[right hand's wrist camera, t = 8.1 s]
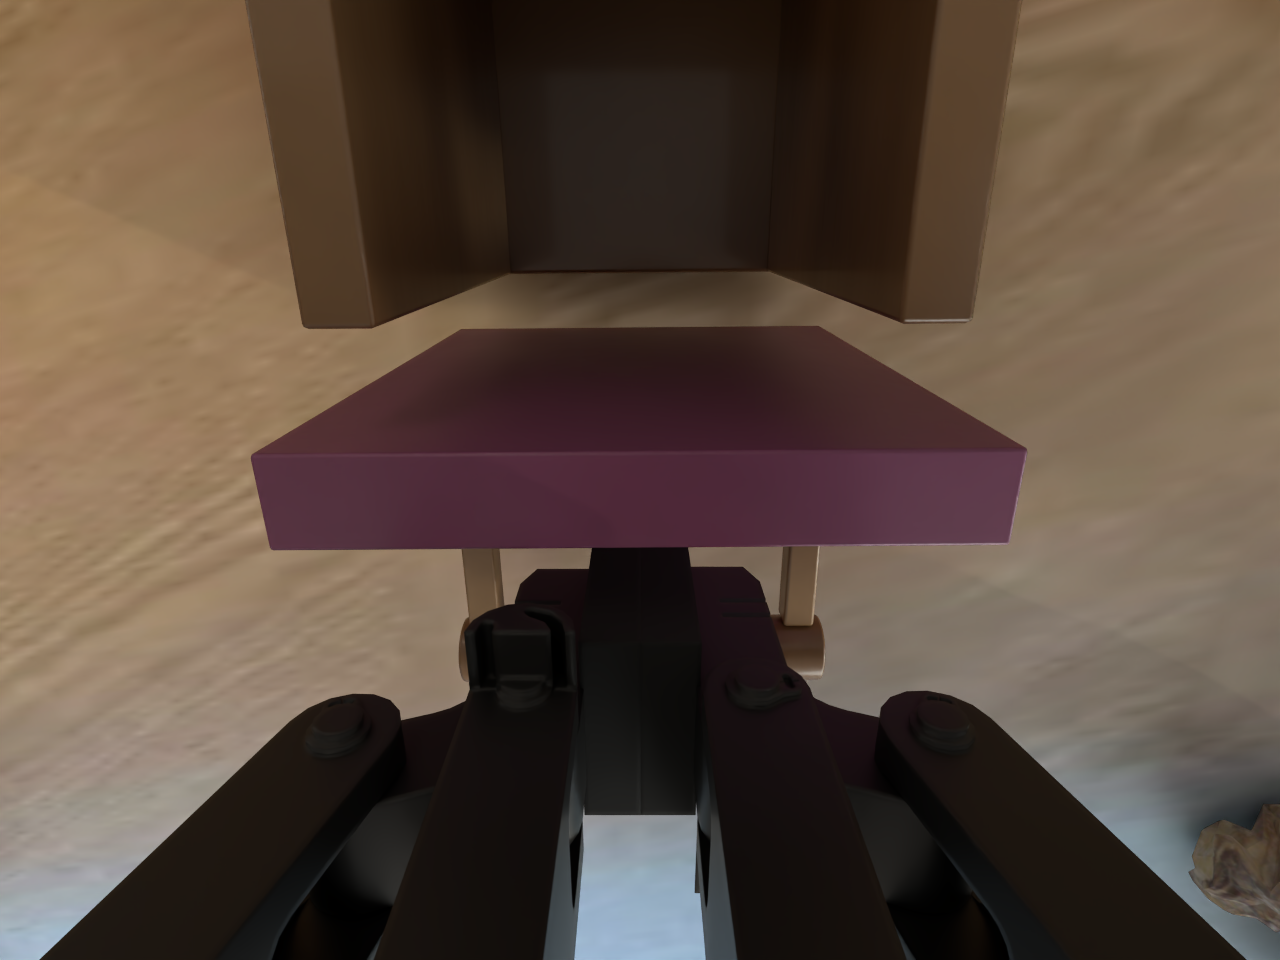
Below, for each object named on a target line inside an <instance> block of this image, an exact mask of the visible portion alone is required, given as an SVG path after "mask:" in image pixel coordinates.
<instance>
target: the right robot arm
mask: <svg viewBox="0 0 1280 960" xmlns="http://www.w3.org/2000/svg"><path fill="white" fill-rule="evenodd" d="M464 638H465V648H466V657H467V667H468V676H469V686H470V690H469V693H468V696H467V699H466V701H465V702H462V703H460V704H458V705H456V706H454V707H452V708H450V709H446V710H443V711H439V712H436V713H432V714H428V715H423V716H419V717H414V718H410V719H405V720H401V717H400V711H399V709H398V708H397V707H396V706H395V705H394V704H393V703H392V702H391V701H390V700H388V699H386V698H383V697H380V696H377V695H374V694H350V695H345V696H340V697H335V698H331V699H328V700H326V701H323V702H321V703H319V704H317V705H314V706H312V707H310V708H308V709H306V710H305V711H304V712H302V713H301V714H299V715H298V716H297V717H295V718H294V719H293V720H291V721H290V722H289V723H288V724H287V725H286V726H285V727H283V728H282V729H281V730H280V731H279V732H278V733H277V734H276V735H275V736H274V737H273V738H272V739H271V740H270V741H269V742H268V743H267V744H266V745H265V746H263V747H262V748H261V749H260V750H259V751H258V752H257V753H256V754H255V755H254V756H253V757H252V758H251V759H250V760H249V761H248V762H247V763H246V764H245V765H244V766H242V767H241V768H240V769H239V770H238V771H237V772H236V773H235V774H234V775H233V776H232V777H231V778H230V779H229V780H228V781H227V782H226V783H225V784H224V785H223V786H221V787H220V788H219V789H218V790H217V791H216V792H215V793H214V794H213V795H212V796H211V797H210V798H209V799H208V800H207V801H206V802H205V803H204V804H203V805H202V806H200V807H199V808H198V809H197V810H196V811H195V812H194V813H193V814H192V815H191V816H190V817H189V818H188V819H187V820H186V821H185V822H184V823H183V824H182V825H180V826H179V827H178V828H177V829H176V830H175V831H174V832H173V833H172V834H171V835H170V836H169V837H168V838H167V839H166V840H165V841H164V842H163V843H162V844H161V845H159V846H158V847H157V848H156V849H155V850H154V851H153V852H152V853H151V854H150V855H149V856H148V857H147V858H146V859H145V860H144V861H143V862H142V863H141V864H140V865H138V866H137V867H136V868H135V869H134V870H133V871H132V872H131V873H130V874H129V875H128V876H127V877H126V878H125V879H124V880H123V881H122V882H121V883H120V884H119V885H117V886H116V887H115V888H114V889H113V890H112V891H111V892H110V893H109V894H108V895H107V896H106V897H105V898H104V899H103V900H102V901H101V902H100V903H99V904H97V905H96V906H95V907H94V908H93V909H92V910H91V911H90V912H89V913H88V914H87V915H86V916H85V917H84V918H83V919H82V920H81V921H80V922H79V923H78V924H76V925H75V926H74V927H73V928H72V929H71V930H70V931H69V932H68V933H67V934H66V935H65V936H64V937H63V938H62V939H61V940H60V941H59V942H58V943H57V944H55V945H54V946H53V947H52V948H51V949H50V950H49V951H48V952H47V953H46V954H45V955H44V956H43V957H42V958H41V959H40V960H574V956H575V944H576V932H577V921H578V909H579V898H580V886H581V874H582V863H583V851H584V847H583V821H582V820H583V810H584V812H585V815H695V814H696V805H697V816H698V821H697V847H696V873H695V893H700V897H701V908H702V920H703V932H704V943H705V955H706V960H1246V959H1245V958H1244V957H1243V956H1242V955H1241V954H1240V953H1239V952H1238V951H1237V950H1236V949H1235V948H1234V947H1232V946H1231V945H1230V944H1229V943H1228V942H1227V941H1226V940H1225V939H1224V938H1223V937H1222V936H1221V935H1220V934H1219V933H1218V932H1217V931H1216V930H1214V929H1213V928H1212V927H1211V926H1210V925H1209V924H1208V923H1207V922H1206V921H1205V920H1204V919H1203V918H1202V917H1201V916H1200V915H1199V914H1198V913H1197V912H1195V911H1194V910H1193V909H1192V908H1191V907H1190V906H1189V905H1188V904H1187V903H1186V902H1185V901H1184V900H1183V899H1182V898H1181V897H1180V896H1179V895H1177V894H1176V893H1175V892H1174V891H1173V890H1172V889H1171V888H1170V887H1169V886H1168V885H1167V884H1166V883H1165V882H1164V881H1163V880H1162V879H1161V878H1159V877H1158V876H1157V875H1156V874H1155V873H1154V872H1153V871H1152V870H1151V869H1150V868H1149V867H1148V866H1147V865H1146V864H1145V863H1144V862H1143V861H1141V860H1140V859H1139V858H1138V857H1137V856H1136V855H1135V854H1134V853H1133V852H1132V851H1131V850H1130V849H1129V848H1128V847H1127V846H1126V845H1125V844H1123V843H1122V842H1121V841H1120V840H1119V839H1118V838H1117V837H1116V836H1115V835H1114V834H1113V833H1112V832H1111V831H1110V830H1109V829H1108V828H1107V827H1105V826H1104V825H1103V824H1102V823H1101V822H1100V821H1099V820H1098V819H1097V818H1096V817H1095V816H1094V815H1093V814H1092V813H1091V812H1090V811H1089V810H1087V809H1086V808H1085V807H1084V806H1083V805H1082V804H1081V803H1080V802H1079V801H1078V800H1077V799H1076V798H1075V797H1074V796H1073V795H1072V794H1071V793H1069V792H1068V791H1067V790H1066V789H1065V788H1064V787H1063V786H1062V785H1061V784H1060V783H1059V782H1058V781H1057V780H1056V779H1055V778H1054V777H1053V776H1051V775H1050V774H1049V773H1048V772H1047V771H1046V770H1045V769H1044V768H1043V767H1042V766H1041V765H1040V764H1039V763H1038V762H1037V761H1036V760H1035V759H1033V758H1032V757H1031V756H1030V755H1029V754H1028V753H1027V752H1026V751H1025V750H1024V749H1023V748H1022V747H1021V746H1020V745H1019V744H1018V743H1017V742H1015V741H1014V740H1013V739H1012V738H1011V737H1010V736H1009V735H1008V734H1007V733H1006V732H1005V731H1004V730H1003V729H1002V728H1001V727H1000V726H999V725H997V724H996V723H995V722H994V721H993V720H992V719H991V718H990V717H988V716H987V715H986V714H984V713H983V712H981V711H980V710H979V709H977V708H976V707H975V706H973V705H971V704H969V703H967V702H964V701H962V700H960V699H957V698H955V697H953V696H950V695H945V694H941V693H936V692H931V691H906V692H903V693H901V694H898V695H895V696H892V697H890V698H889V699H888V700H887V701H886V703H885V704H884V705H883V706H882V707H881V711H880V717H874V716H870V715H865V714H861V713H856V712H852V711H847V710H844V709H840V708H837V707H834V706H830V705H828V704H826V703H824V702H822V701H820V700H817V699H815V698H814V697H813V695H812V692H811V689H810V688H809V686H808V685H807V683H806V682H805V680H804V679H803V677H802V676H801V675H800V674H798V673H797V672H795V671H794V670H792V669H791V668H790V667H788V666H787V663H786V660H785V657H784V654H783V651H782V648H781V645H780V642H779V639H778V636H777V633H776V630H775V627H774V624H773V620H772V617H770V611H769V608H768V605H767V602H765V596H764V593H763V590H762V587H761V584H760V581H758V580H757V579H756V578H755V577H754V576H753V575H752V574H750V573H749V572H748V571H747V570H746V569H745V568H744V567H691V565H690V558H689V551H688V547H640V548H592V552H591V559H590V566H589V569H537V570H536V571H535V572H534V573H532V574H531V575H530V576H529V577H528V578H527V579H526V580H524V581H523V582H522V583H521V584H520V587H519V590H518V593H517V596H516V599H515V604H511V605H505V606H502V607H499V608H496V609H492V610H489V611H487V612H485V613H484V614H482V615H480V616H479V617H477V618H476V619H474V620H473V621H472V622H471V623H470V624H469V626H468V627H467V628H466V630H465V631H464Z"/></svg>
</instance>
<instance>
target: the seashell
mask: <svg viewBox="0 0 1280 960" xmlns="http://www.w3.org/2000/svg"><path fill="white" fill-rule="evenodd" d="M1192 858H1193V861H1194V865H1195V868H1194V869H1193V870H1191V871H1189V874H1190V876H1191V878H1192V880H1193V881H1194V883H1195V884H1196V885H1197V886H1198V887H1199V889H1200V890H1201V891H1202V892H1203V893H1204V894H1205V896H1206V897H1207V898H1208V899H1209V900H1211V901H1212V902H1214V903H1215V904H1216V905H1218V906H1219V907H1221V908H1222V909H1224V910H1225V911H1227V912H1229V913H1231V914H1234V915H1240V916H1246V917H1251V918H1256V919H1258V920H1259V921H1261V922H1262V923H1264V924H1265V925H1266V926H1268V927H1269V928H1271V929H1272V930H1274V931H1275V932H1279V931H1280V804H1263V806H1262V808H1261V810H1260V812H1259V815H1258V817H1257V819H1256V822H1255V824H1254V826H1253V828H1252V830H1249V829H1247V828H1244V827H1241V826H1239V825H1236V824H1234V823H1231V822H1229V821H1226V820H1221V821H1218V822H1216V823H1214V824H1212V825H1210V826H1208V827H1206V828H1204V829H1203V830H1202V831H1201V834H1200V836H1199V839H1198V842H1197V844H1196V847H1195V850H1194V852H1193V855H1192Z"/></svg>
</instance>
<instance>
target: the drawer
mask: <svg viewBox="0 0 1280 960" xmlns="http://www.w3.org/2000/svg"><path fill="white" fill-rule="evenodd" d="M245 2H246V8H247V13H248V19H249V25H250V30H251V36H252V42H253V48H254V53H255V59H256V65H257V70H258V76H259V82H260V87H261V93H262V99H263V104H264V110H265V116H266V121H267V127H268V133H269V138H270V144H271V150H272V155H273V161H274V167H275V172H276V178H277V184H278V189H279V195H280V201H281V206H282V212H283V218H284V223H285V229H286V235H287V240H288V246H289V252H290V257H291V263H292V269H293V274H294V280H295V286H296V291H297V297H298V303H299V309H300V314H301V320H302V324H303V326H304V327H305V328H308V329H356V328H374V327H376V326H379V325H381V324H384V323H386V322H389V321H392V320H394V319H397V318H399V317H402V316H404V315H407V314H409V313H412V312H414V311H417V310H419V309H422V308H424V307H427V306H429V305H432V304H434V303H437V302H439V301H442V300H445V299H447V298H450V297H452V296H455V295H457V294H460V293H462V292H465V291H467V290H470V289H472V288H475V287H477V286H480V285H482V284H485V283H487V282H490V281H493V280H495V279H498V278H500V277H503V276H505V275H508V274H551V273H659V272H768V271H770V272H772V273H775V274H777V275H780V276H782V277H785V278H788V279H790V280H793V281H795V282H798V283H800V284H803V285H806V286H808V287H811V288H813V289H816V290H818V291H821V292H824V293H826V294H829V295H831V296H834V297H836V298H839V299H842V300H844V301H847V302H849V303H852V304H855V305H857V306H860V307H862V308H865V309H867V310H870V311H873V312H875V313H878V314H880V315H883V316H885V317H888V318H891V319H893V320H896V321H898V322H901V323H903V324H908V323H966V322H969V321H971V319H972V317H973V312H974V305H975V299H976V293H977V286H978V280H979V273H980V267H981V260H982V254H983V248H984V241H985V235H986V228H987V222H988V215H989V209H990V203H991V196H992V190H993V183H994V177H995V170H996V164H997V158H998V151H999V145H1000V138H1001V132H1002V125H1003V119H1004V113H1005V106H1006V100H1007V93H1008V87H1009V80H1010V74H1011V68H1012V61H1013V55H1014V48H1015V42H1016V36H1017V29H1018V23H1019V16H1020V10H1021V3H1022V0H245ZM1026 456H1027V449H1026V448H1025V447H1023V446H1021V445H1020V444H1018V443H1016V442H1015V441H1013V440H1011V439H1010V438H1008V437H1006V436H1004V435H1003V434H1001V433H999V432H998V431H996V430H994V429H993V428H991V427H989V426H988V425H986V424H984V423H982V422H981V421H979V420H977V419H976V418H974V417H972V416H971V415H969V414H967V413H965V412H964V411H962V410H960V409H959V408H957V407H955V406H954V405H952V404H950V403H948V402H947V401H945V400H943V399H942V398H940V397H938V396H937V395H935V394H933V393H931V392H930V391H928V390H926V389H925V388H923V387H921V386H920V385H918V384H916V383H914V382H913V381H911V380H909V379H908V378H906V377H904V376H903V375H901V374H899V373H897V372H896V371H894V370H892V369H891V368H889V367H887V366H886V365H884V364H882V363H880V362H879V361H877V360H875V359H874V358H872V357H870V356H869V355H867V354H865V353H863V352H862V351H860V350H858V349H857V348H855V347H853V346H852V345H850V344H848V343H846V342H845V341H843V340H841V339H840V338H838V337H836V336H835V335H833V334H831V333H829V332H828V331H826V330H824V329H823V328H821V327H819V326H762V327H649V328H536V329H461V330H459V331H457V332H456V333H454V334H452V335H451V336H449V337H447V338H446V339H444V340H442V341H441V342H439V343H437V344H436V345H434V346H432V347H431V348H429V349H427V350H426V351H424V352H422V353H421V354H419V355H417V356H416V357H414V358H412V359H411V360H409V361H407V362H406V363H404V364H402V365H401V366H399V367H397V368H396V369H394V370H392V371H391V372H389V373H387V374H386V375H384V376H382V377H381V378H379V379H377V380H376V381H374V382H372V383H371V384H369V385H367V386H366V387H364V388H362V389H361V390H359V391H357V392H356V393H354V394H352V395H350V396H349V397H347V398H345V399H344V400H342V401H340V402H339V403H337V404H335V405H334V406H332V407H330V408H329V409H327V410H325V411H324V412H322V413H320V414H319V415H317V416H315V417H314V418H312V419H310V420H309V421H307V422H305V423H304V424H302V425H300V426H299V427H297V428H295V429H294V430H292V431H290V432H289V433H287V434H285V435H284V436H282V437H280V438H279V439H277V440H275V441H274V442H272V443H270V444H269V445H267V446H265V447H264V448H262V449H260V450H259V451H257V452H255V453H254V454H252V455H251V462H252V466H253V471H254V475H255V480H256V485H257V489H258V494H259V499H260V503H261V508H262V512H263V517H264V522H265V526H266V531H267V536H268V540H269V545H270V548H271V549H272V550H369V549H462V557H463V566H464V575H465V584H466V594H467V603H468V612H469V617H468V618H467V619H466V620H465V622H464V624H463V627H462V630H461V635H460V642H459V668H460V673H461V676H462V679H463V680H464V681H466V682H469V676H468V667H467V657H466V648H465V638H464V631H465V630H466V628H467V627H468V626H469V624H470V623H471V622H472V621H473V620H474V619H476V618H477V617H479V616H480V615H482V614H484V613H485V612H487V611H489V610H492V609H496V608H499V607H502V606H504V596H503V585H502V574H501V563H500V551H499V549H504V548H640V547H775V546H783V556H782V570H781V584H780V599H779V613H780V615H770V617H772V620H773V624H774V627H775V630H776V633H777V636H778V639H779V642H780V645H781V648H782V651H783V654H784V657H785V660H786V663H787V666H788V667H790V668H791V669H792V670H794V671H795V672H797V673H798V674H800V675H801V676H802V677H803V679H804V680H818V679H820V678H821V677H822V675H823V671H824V667H825V641H824V634H823V629H822V626H821V623H820V620H819V618H818V617H817V616H816V615H814V608H815V597H816V586H817V575H818V564H819V553H820V546H910V545H1007V544H1009V542H1010V538H1011V533H1012V528H1013V523H1014V518H1015V513H1016V507H1017V502H1018V497H1019V492H1020V487H1021V482H1022V477H1023V472H1024V467H1025V461H1026Z"/></svg>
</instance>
